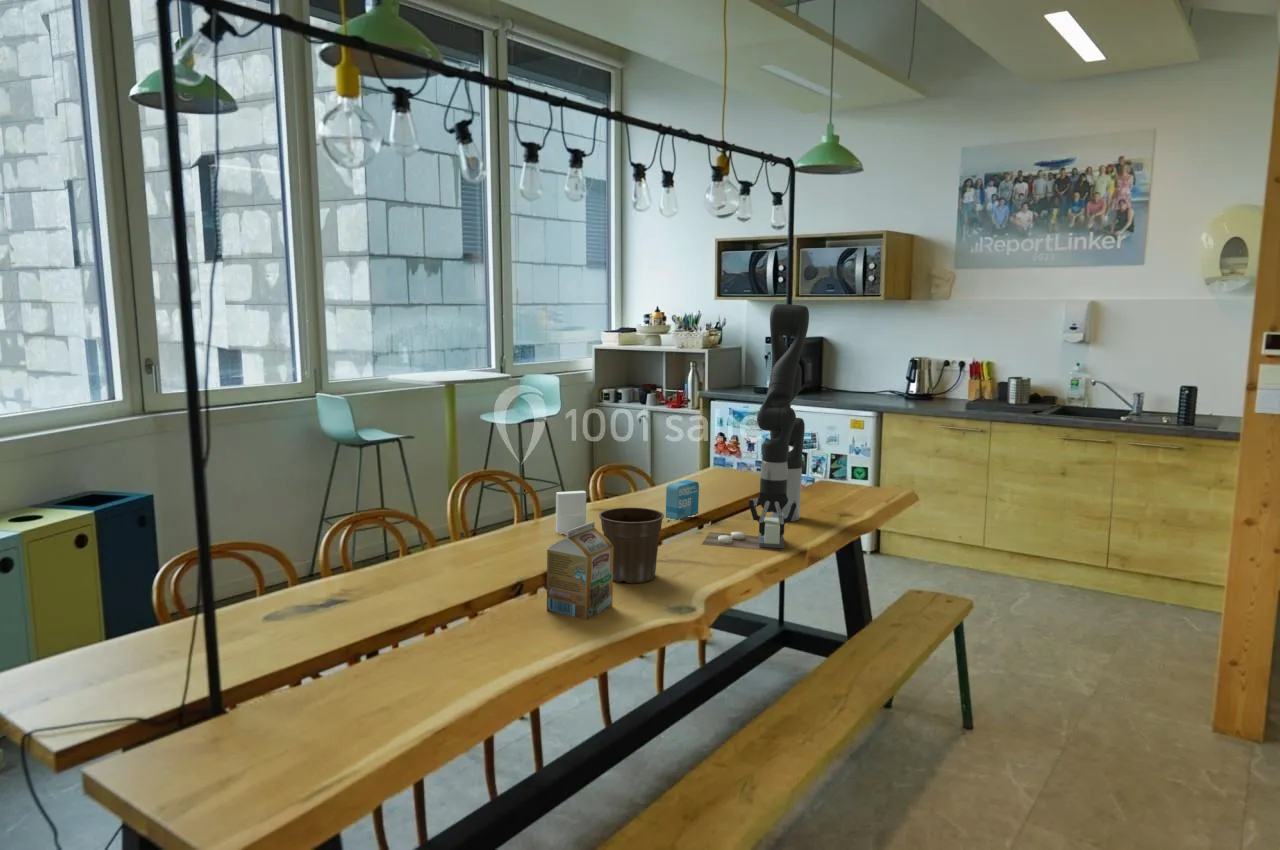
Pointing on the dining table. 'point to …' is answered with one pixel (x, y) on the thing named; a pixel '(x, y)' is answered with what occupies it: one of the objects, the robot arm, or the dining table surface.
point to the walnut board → (736, 542)
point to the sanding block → (771, 534)
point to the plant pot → (633, 542)
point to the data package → (682, 499)
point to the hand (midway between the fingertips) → (771, 535)
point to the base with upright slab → (570, 510)
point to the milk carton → (580, 573)
